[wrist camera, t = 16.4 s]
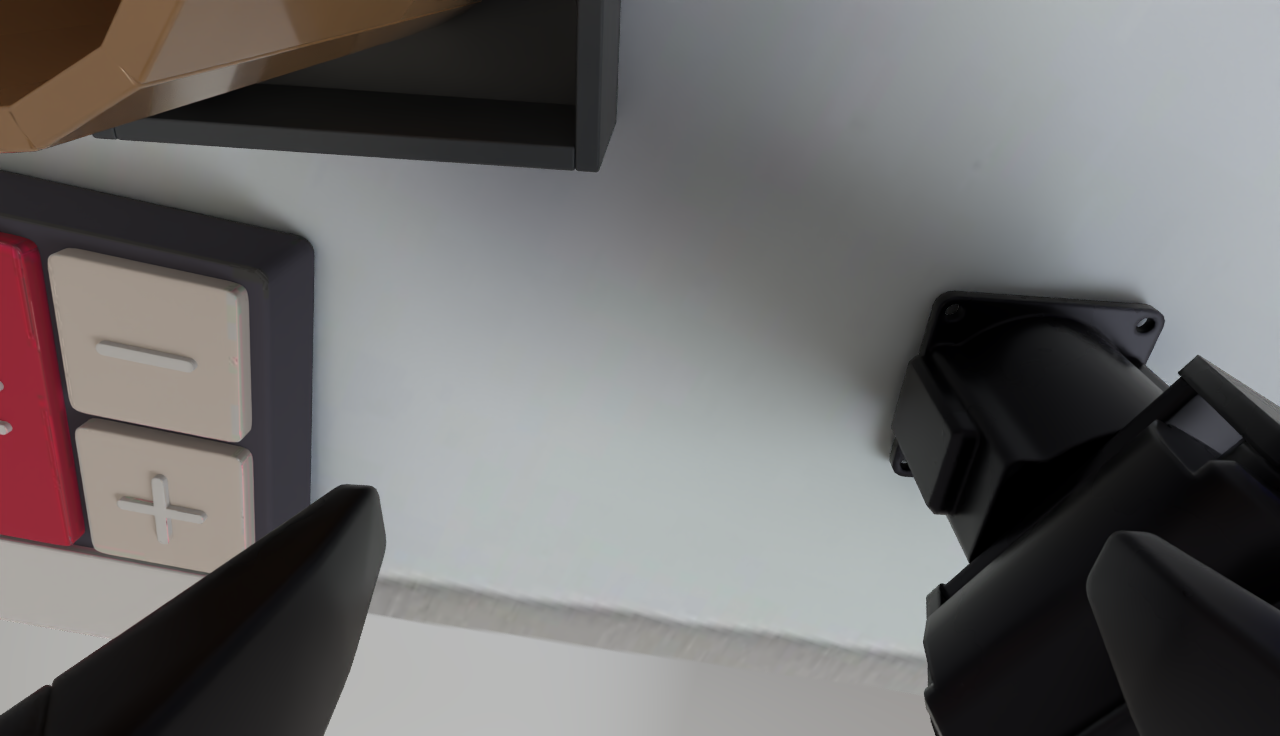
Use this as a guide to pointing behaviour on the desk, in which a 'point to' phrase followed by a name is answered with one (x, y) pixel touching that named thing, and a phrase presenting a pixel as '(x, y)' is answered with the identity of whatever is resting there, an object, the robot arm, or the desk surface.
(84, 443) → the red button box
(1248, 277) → the desk surface
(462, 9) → the wooden cup
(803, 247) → the desk surface
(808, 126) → the desk surface
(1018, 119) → the desk surface
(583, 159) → the bin
